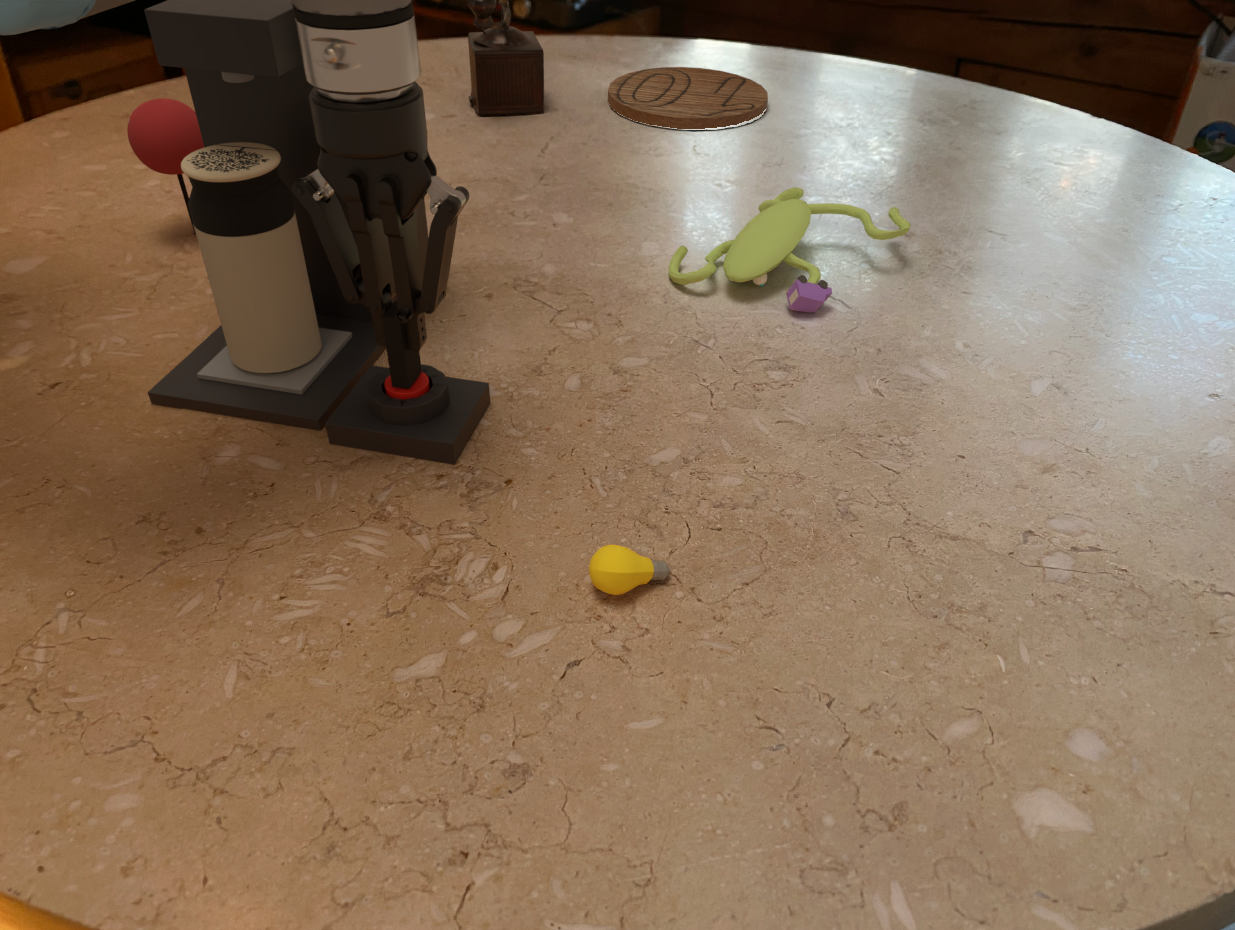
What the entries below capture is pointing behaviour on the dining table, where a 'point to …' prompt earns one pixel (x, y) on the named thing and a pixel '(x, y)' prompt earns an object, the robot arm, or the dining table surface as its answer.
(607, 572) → the light bulb
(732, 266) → the figurine
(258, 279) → the travel mug
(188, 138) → the lollipop
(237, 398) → the coffee maker
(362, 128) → the robot arm
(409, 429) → the panel
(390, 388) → the button
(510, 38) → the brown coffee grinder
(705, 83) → the trivet
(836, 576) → the dining table surface
